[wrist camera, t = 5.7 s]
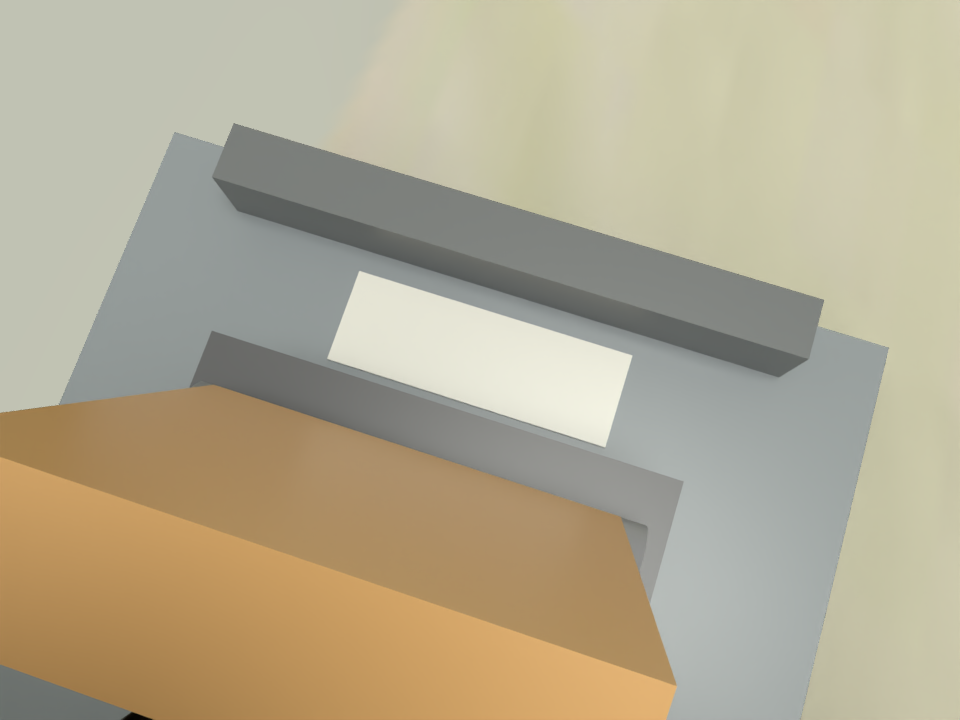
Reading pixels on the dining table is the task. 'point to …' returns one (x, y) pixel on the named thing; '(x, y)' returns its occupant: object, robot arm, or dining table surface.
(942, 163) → the dining table surface
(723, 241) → the dining table surface
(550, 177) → the dining table surface
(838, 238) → the dining table surface
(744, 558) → the switch board
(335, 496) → the lever
